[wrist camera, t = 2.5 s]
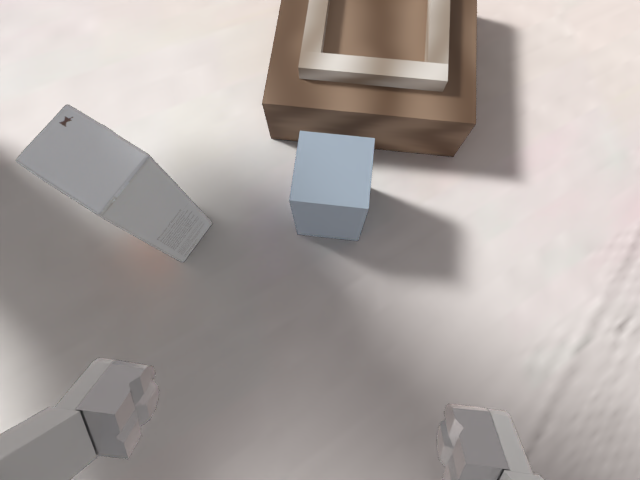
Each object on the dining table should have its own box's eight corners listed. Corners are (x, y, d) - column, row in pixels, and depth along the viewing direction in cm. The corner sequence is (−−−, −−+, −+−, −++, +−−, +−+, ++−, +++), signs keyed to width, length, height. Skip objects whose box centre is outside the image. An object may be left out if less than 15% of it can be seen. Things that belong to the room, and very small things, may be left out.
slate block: (297, 234, 31) (289, 200, 23) (305, 178, 32) (299, 130, 25) (358, 241, 30) (368, 209, 23) (363, 184, 32) (374, 138, 25)
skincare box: (126, 228, 31) (9, 159, 19) (159, 187, 32) (65, 99, 20) (184, 266, 30) (97, 217, 19) (216, 223, 31) (151, 151, 19)
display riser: (271, 138, 33) (259, 92, 27) (295, -3, 37) (290, -69, 31) (453, 156, 32) (482, 114, 26) (457, 10, 37) (482, -55, 31)
